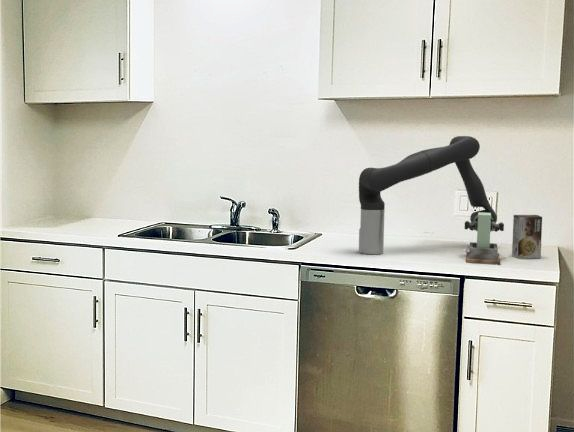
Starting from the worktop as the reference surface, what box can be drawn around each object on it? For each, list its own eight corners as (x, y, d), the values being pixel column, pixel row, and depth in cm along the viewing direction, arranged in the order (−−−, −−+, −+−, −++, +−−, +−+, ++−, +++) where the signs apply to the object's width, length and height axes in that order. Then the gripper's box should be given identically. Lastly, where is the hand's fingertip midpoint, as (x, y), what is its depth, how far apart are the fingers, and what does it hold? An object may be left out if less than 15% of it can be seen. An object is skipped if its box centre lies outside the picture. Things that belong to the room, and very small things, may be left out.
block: (476, 257, 250) (478, 214, 248) (476, 253, 259) (478, 212, 257) (489, 258, 249) (491, 215, 247) (488, 254, 257) (490, 212, 256)
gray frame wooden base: (465, 262, 247) (466, 248, 246) (466, 254, 264) (467, 241, 263) (500, 264, 244) (500, 250, 243) (498, 256, 261) (499, 243, 260)
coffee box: (534, 255, 263) (536, 214, 261) (540, 258, 257) (543, 216, 255) (511, 255, 263) (513, 214, 261) (517, 258, 257) (519, 216, 255)
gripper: (465, 212, 267) (464, 217, 252) (503, 214, 264) (504, 219, 248) (464, 231, 268) (463, 237, 253) (502, 233, 265) (503, 239, 249)
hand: (484, 228), depth 251 cm, fingers open, 8 cm apart
